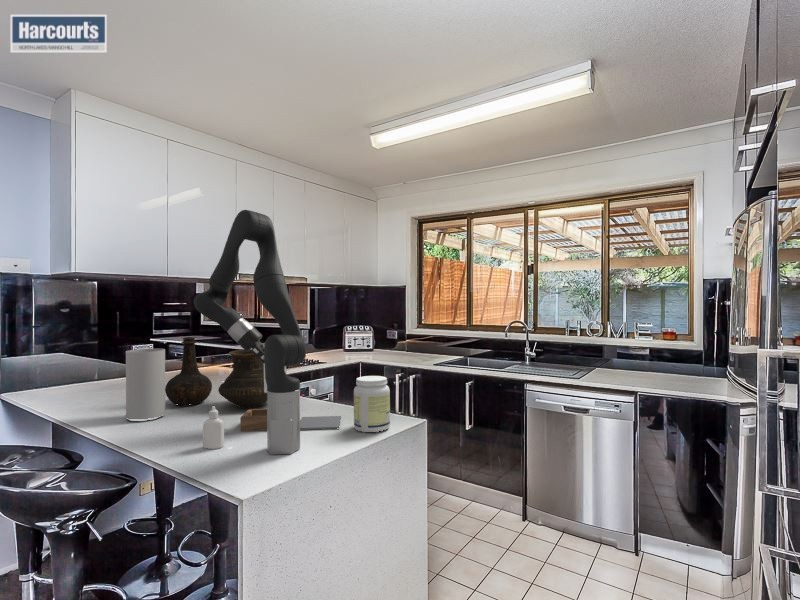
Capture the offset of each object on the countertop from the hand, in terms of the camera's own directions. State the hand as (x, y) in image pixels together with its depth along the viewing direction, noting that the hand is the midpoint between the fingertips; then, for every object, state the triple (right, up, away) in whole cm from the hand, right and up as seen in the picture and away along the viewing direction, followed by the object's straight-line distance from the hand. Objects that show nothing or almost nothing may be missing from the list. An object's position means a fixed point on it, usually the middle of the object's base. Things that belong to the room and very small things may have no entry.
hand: (279, 367), depth 149 cm
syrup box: (-1, -8, 0) cm, 9 cm away
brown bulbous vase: (-48, -21, +33) cm, 61 cm away
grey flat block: (+14, -20, +1) cm, 24 cm away
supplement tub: (+32, -20, -4) cm, 38 cm away
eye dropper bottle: (-13, -20, -22) cm, 33 cm away
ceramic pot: (-20, -20, +28) cm, 40 cm away
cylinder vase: (-52, -21, +10) cm, 57 cm away
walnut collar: (-6, -20, 0) cm, 21 cm away
